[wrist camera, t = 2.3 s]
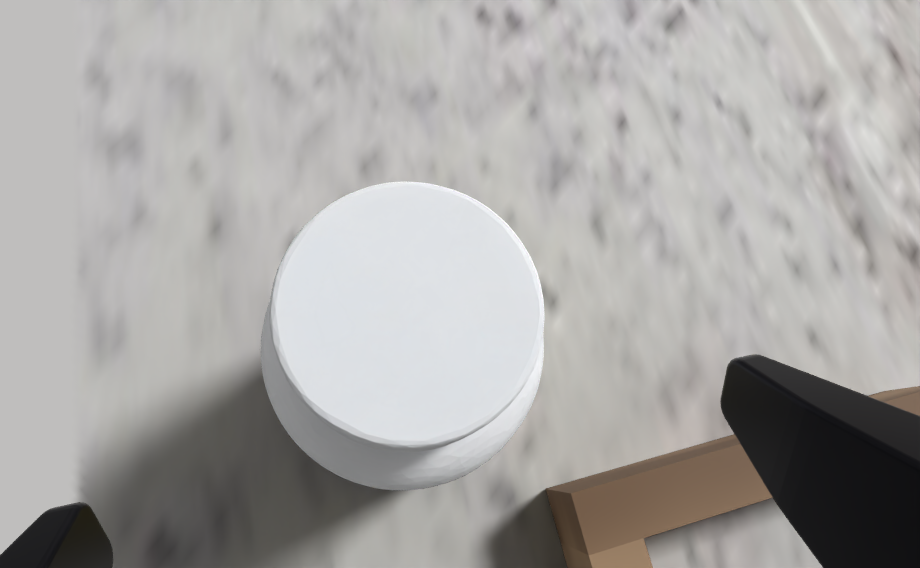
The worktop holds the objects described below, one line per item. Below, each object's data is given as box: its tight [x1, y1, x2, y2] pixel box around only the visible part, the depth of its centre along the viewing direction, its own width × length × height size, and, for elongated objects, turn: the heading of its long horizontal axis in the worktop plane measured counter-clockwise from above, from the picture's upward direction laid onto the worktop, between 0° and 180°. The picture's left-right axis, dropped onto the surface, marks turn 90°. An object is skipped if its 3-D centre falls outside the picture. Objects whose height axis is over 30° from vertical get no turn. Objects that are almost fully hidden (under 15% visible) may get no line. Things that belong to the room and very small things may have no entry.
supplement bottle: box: [261, 182, 544, 490], centre depth 13 cm, size 5×5×10 cm
